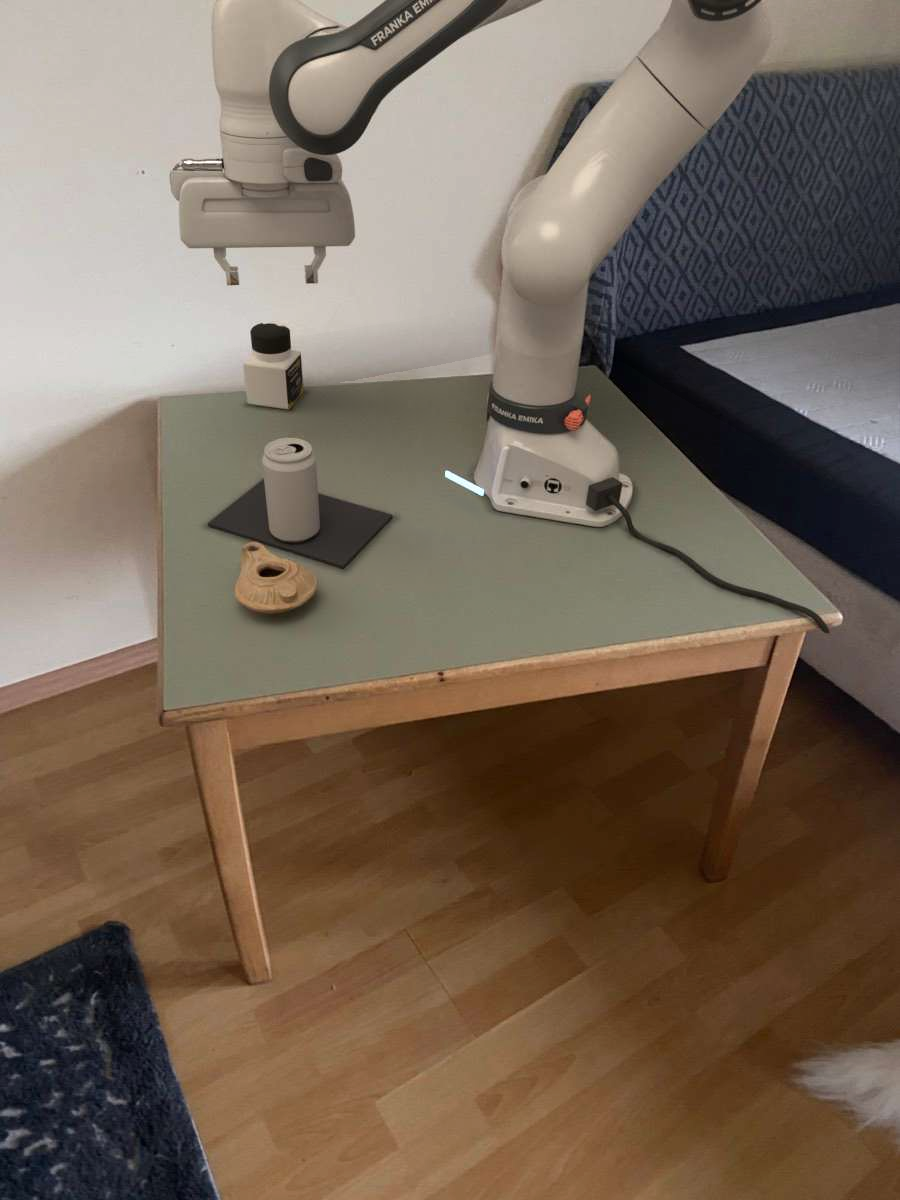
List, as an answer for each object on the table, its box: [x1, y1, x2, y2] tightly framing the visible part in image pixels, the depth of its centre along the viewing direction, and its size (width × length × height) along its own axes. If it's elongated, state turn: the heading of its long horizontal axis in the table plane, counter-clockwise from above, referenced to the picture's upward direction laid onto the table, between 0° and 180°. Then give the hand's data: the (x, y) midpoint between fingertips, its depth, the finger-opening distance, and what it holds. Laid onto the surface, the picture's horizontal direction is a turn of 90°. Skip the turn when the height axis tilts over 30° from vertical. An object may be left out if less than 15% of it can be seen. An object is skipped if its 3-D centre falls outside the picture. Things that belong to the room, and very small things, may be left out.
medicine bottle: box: [242, 321, 304, 410], centre depth 138 cm, size 7×7×12 cm
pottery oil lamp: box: [234, 541, 319, 614], centre depth 100 cm, size 9×12×7 cm
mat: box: [207, 478, 393, 570], centre depth 114 cm, size 20×13×1 cm, turn 66°
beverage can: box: [261, 437, 320, 543], centre depth 108 cm, size 6×6×12 cm
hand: (272, 283), depth 107 cm, fingers open, 8 cm apart
